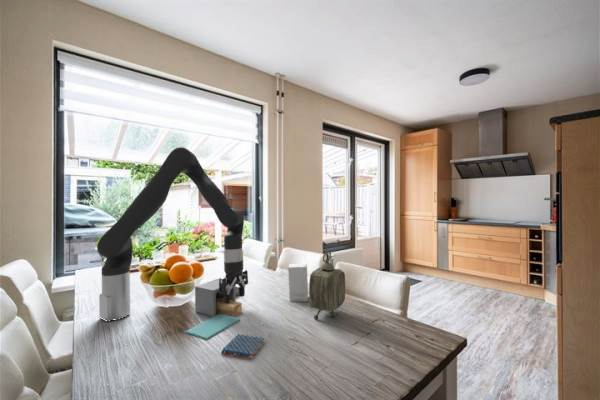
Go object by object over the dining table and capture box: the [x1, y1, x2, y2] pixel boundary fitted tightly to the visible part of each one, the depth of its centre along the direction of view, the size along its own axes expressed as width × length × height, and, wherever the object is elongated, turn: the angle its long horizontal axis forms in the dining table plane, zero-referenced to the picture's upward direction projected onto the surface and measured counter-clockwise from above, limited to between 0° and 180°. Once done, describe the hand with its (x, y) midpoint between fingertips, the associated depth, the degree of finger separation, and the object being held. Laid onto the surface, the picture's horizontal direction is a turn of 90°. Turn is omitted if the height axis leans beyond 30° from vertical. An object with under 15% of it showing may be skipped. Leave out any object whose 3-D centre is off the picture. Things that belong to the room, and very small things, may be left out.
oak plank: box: [216, 297, 243, 317], centre depth 110 cm, size 5×14×4 cm, turn 59°
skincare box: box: [287, 263, 309, 302], centre depth 122 cm, size 8×7×16 cm
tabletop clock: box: [308, 250, 346, 320], centre depth 104 cm, size 14×9×25 cm, turn 149°
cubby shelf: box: [194, 278, 237, 317], centre depth 113 cm, size 12×10×10 cm
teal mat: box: [185, 313, 241, 340], centre depth 97 cm, size 16×10×1 cm, turn 151°
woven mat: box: [220, 333, 266, 360], centre depth 82 cm, size 10×11×2 cm
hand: (234, 299), depth 108 cm, fingers open, 8 cm apart
